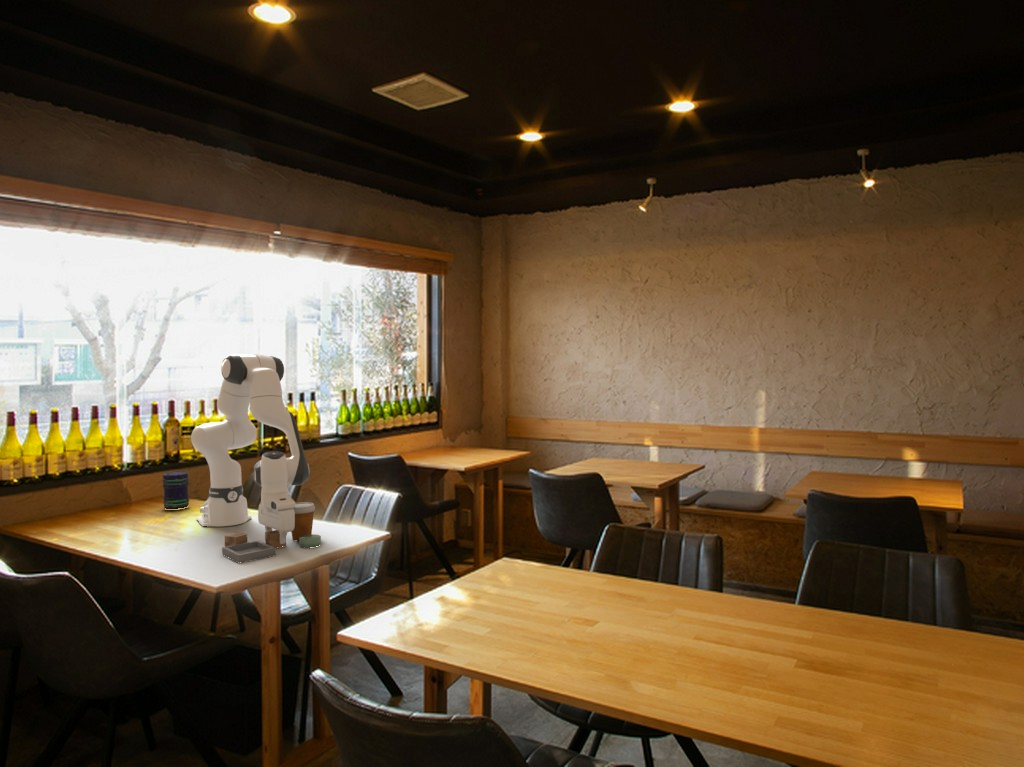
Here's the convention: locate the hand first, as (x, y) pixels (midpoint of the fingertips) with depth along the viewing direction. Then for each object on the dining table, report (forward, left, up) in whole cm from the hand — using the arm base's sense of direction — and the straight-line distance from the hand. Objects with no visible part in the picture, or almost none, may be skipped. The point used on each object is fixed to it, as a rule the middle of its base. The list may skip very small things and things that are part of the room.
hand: (276, 541), depth 249 cm
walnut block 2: (0, 0, -2) cm, 2 cm away
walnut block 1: (-6, -11, -2) cm, 13 cm away
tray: (+4, -11, -2) cm, 12 cm away
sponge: (+7, +9, -2) cm, 11 cm away
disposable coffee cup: (-3, +11, -2) cm, 12 cm away
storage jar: (-87, -3, -2) cm, 87 cm away
